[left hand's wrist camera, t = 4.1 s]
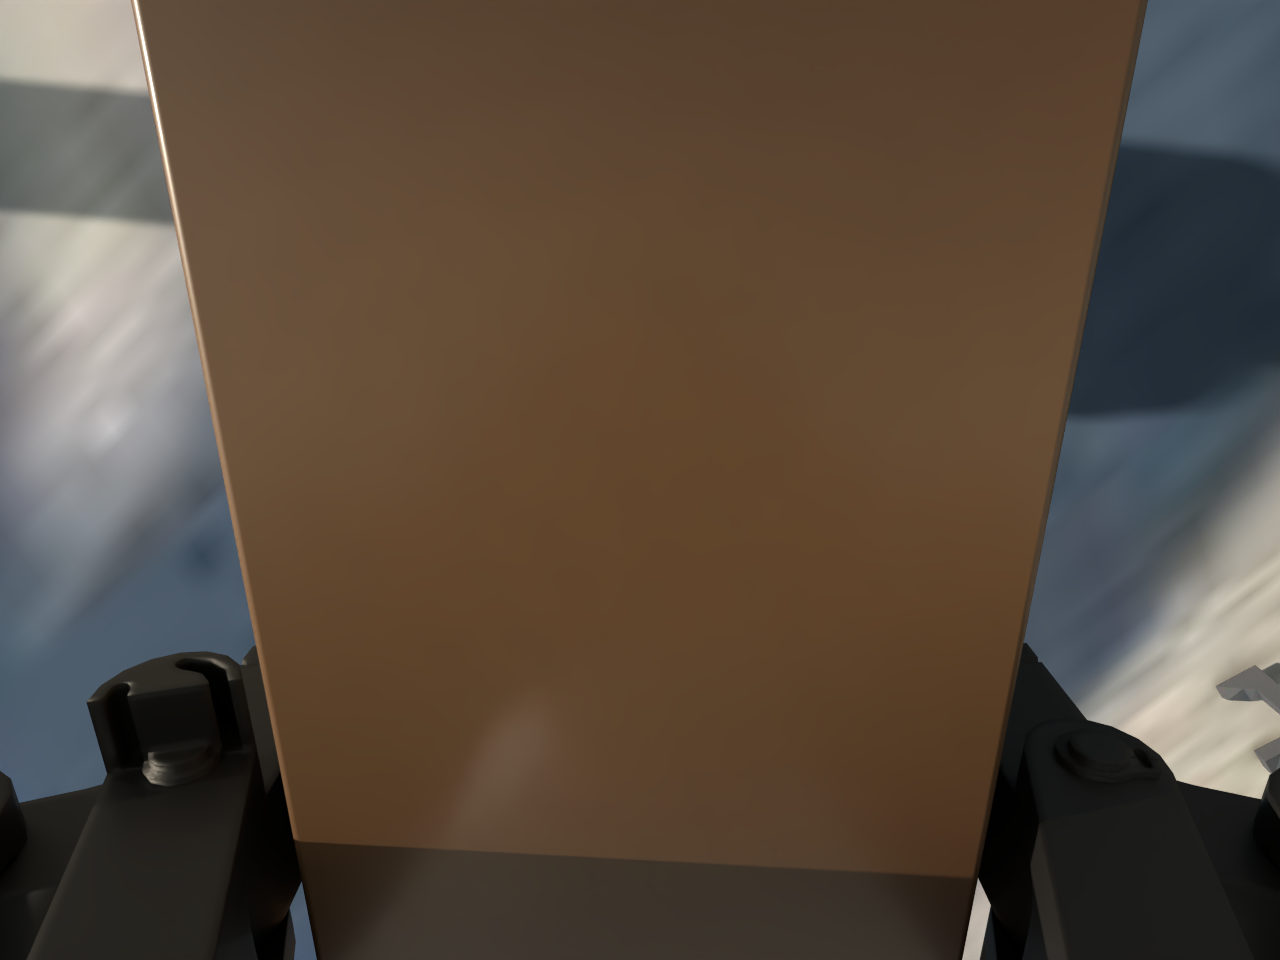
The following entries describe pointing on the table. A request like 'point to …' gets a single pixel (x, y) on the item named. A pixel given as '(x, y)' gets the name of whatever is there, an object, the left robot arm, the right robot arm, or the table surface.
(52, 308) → the table surface
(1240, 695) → the toy
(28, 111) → the table surface
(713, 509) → the bar
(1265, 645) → the table surface
